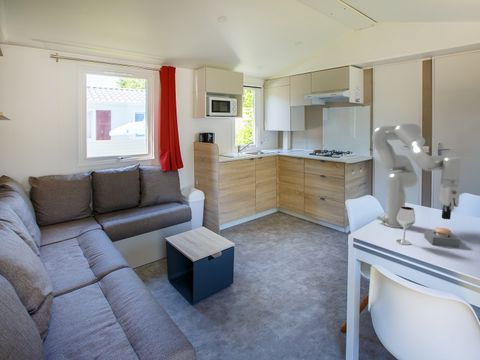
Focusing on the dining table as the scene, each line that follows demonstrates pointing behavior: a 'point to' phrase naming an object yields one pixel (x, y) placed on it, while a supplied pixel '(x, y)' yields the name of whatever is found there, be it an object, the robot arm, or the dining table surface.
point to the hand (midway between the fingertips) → (445, 218)
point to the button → (442, 232)
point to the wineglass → (405, 221)
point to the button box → (442, 239)
